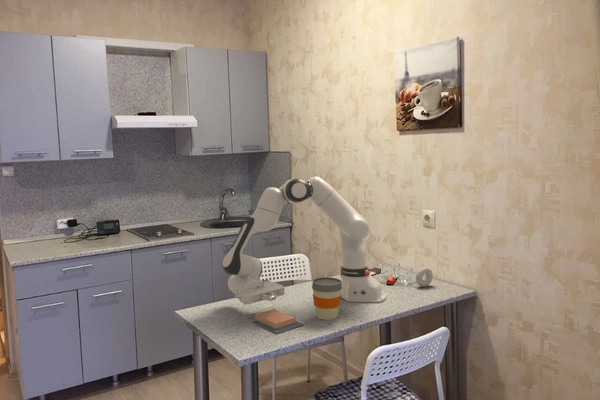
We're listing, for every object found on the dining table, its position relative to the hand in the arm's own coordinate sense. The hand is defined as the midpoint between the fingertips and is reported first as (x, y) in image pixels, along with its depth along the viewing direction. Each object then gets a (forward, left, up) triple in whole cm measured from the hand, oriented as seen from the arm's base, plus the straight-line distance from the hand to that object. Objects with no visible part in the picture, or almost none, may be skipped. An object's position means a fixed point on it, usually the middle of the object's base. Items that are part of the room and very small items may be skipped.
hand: (273, 298), depth 203 cm
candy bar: (-36, -73, -10) cm, 82 cm away
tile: (+5, -3, -8) cm, 10 cm away
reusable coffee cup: (-19, -14, -10) cm, 25 cm away
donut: (-53, -69, -10) cm, 87 cm away
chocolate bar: (-23, -86, -11) cm, 89 cm away
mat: (-3, +2, -10) cm, 10 cm away
